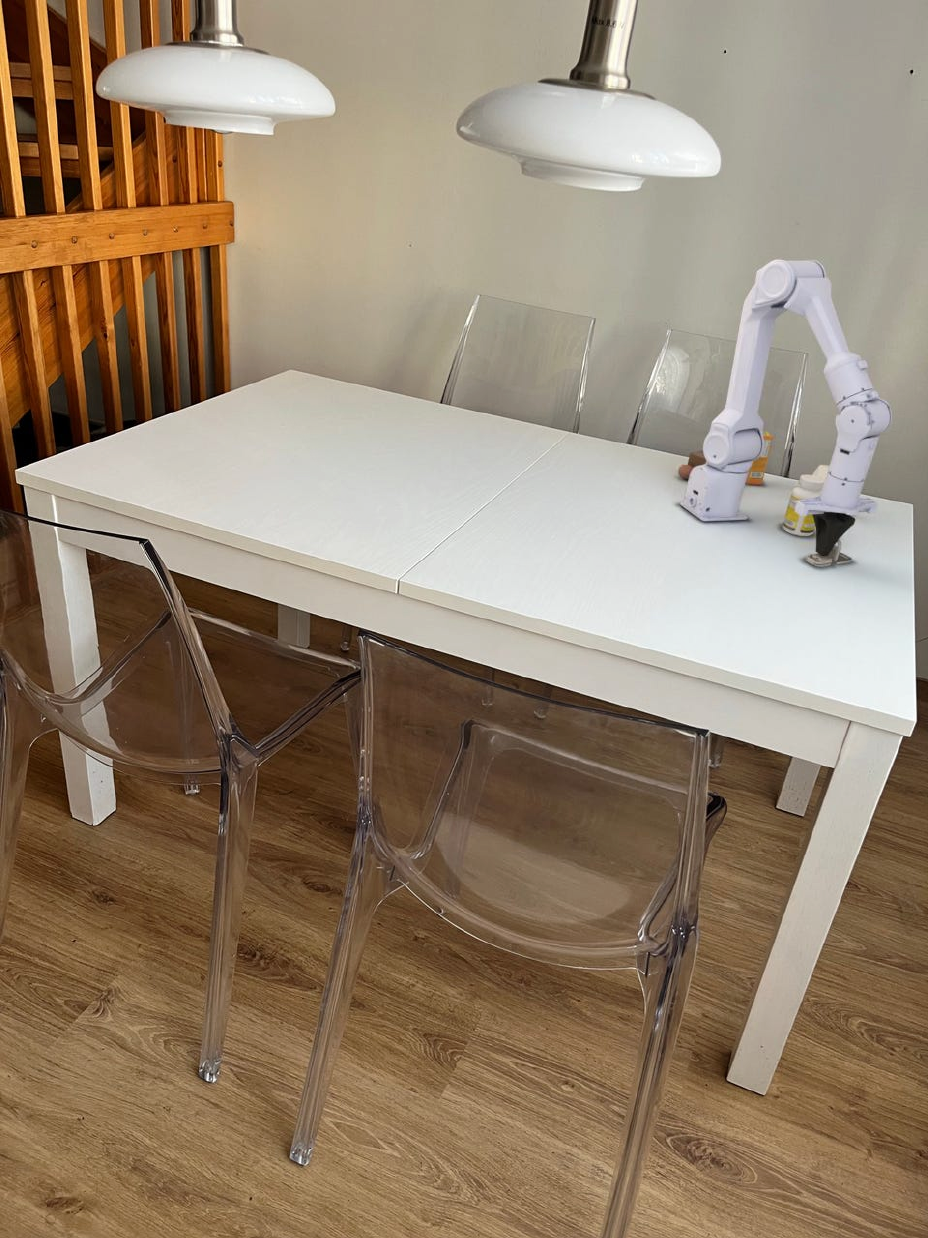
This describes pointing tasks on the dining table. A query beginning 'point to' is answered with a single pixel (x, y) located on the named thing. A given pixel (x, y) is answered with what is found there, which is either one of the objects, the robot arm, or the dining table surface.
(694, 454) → the walnut block
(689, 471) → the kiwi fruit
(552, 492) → the dining table surface
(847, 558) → the strap clip
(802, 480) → the supplement bottle
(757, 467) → the supplement box
